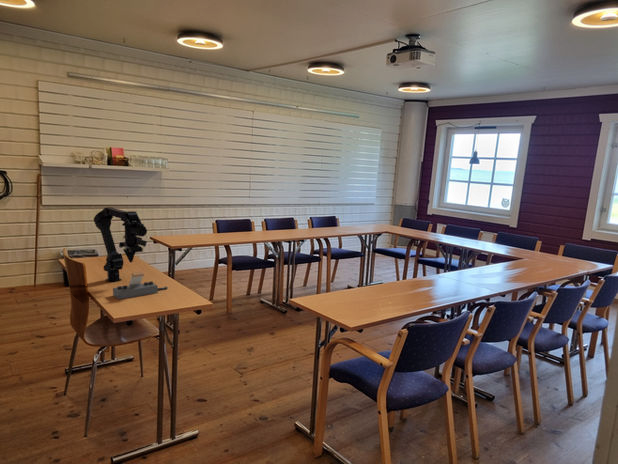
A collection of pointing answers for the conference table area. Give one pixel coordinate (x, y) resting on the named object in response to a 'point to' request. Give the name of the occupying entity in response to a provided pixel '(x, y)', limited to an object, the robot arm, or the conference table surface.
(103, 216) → the robot arm
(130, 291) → the breaker box
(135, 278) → the lever
